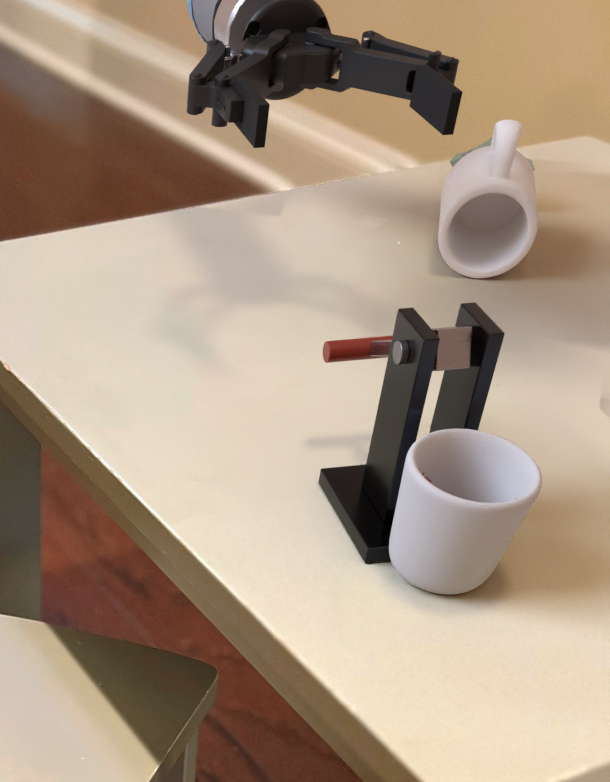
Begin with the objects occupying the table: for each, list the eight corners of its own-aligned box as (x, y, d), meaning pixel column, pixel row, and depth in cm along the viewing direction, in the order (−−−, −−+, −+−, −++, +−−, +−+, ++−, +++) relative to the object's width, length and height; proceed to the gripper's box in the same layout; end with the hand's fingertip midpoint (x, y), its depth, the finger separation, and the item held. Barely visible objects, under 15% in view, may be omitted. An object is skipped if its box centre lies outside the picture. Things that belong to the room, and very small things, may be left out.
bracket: (317, 482, 84) (351, 291, 74) (438, 471, 85) (488, 280, 75) (364, 564, 77) (408, 364, 67) (496, 550, 78) (559, 351, 68)
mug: (521, 239, 113) (558, 102, 105) (523, 283, 106) (562, 140, 98) (432, 232, 115) (462, 97, 107) (428, 275, 108) (460, 133, 100)
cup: (411, 493, 81) (446, 391, 75) (525, 533, 79) (571, 431, 73) (355, 580, 75) (388, 476, 69) (477, 626, 73) (522, 523, 67)
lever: (322, 369, 83) (322, 334, 82) (417, 361, 84) (418, 325, 83) (397, 374, 71) (398, 332, 70) (508, 364, 72) (510, 322, 71)
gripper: (409, 78, 99) (515, 165, 85) (119, 97, 97) (176, 189, 83) (429, -27, 94) (546, 47, 79) (123, -9, 92) (184, 70, 77)
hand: (358, 120), depth 81 cm, fingers open, 13 cm apart
